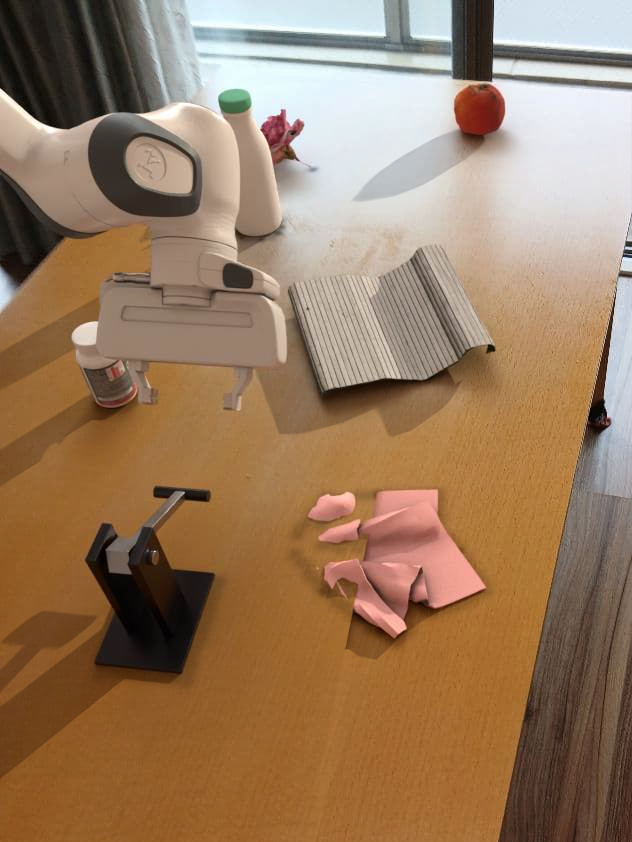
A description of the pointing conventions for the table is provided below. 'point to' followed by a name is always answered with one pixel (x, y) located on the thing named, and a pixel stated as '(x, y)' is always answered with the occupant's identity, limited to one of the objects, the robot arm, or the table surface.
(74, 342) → the pill bottle
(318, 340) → the mat
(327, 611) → the table surface
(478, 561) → the table surface
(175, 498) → the lever
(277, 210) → the milk bottle
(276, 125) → the flower
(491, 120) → the red round fruit
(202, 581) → the bracket
